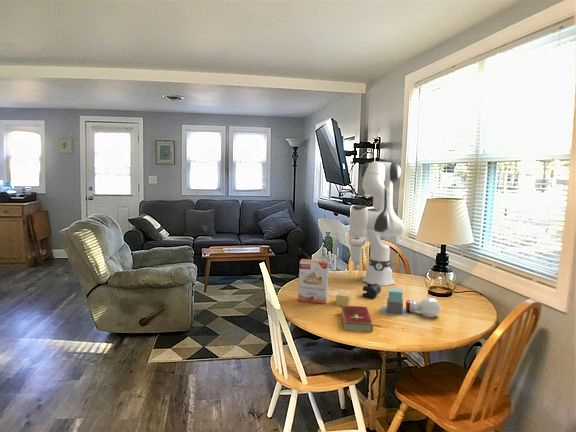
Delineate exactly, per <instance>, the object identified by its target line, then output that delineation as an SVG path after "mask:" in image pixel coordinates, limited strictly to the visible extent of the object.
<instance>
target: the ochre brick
mask: <svg viewBox="0 0 576 432" xmlns="http://www.w3.org/2000/svg"><path fill="white" fill-rule="evenodd" d="M350 303H351V292H345V291H338V292H337V293H336V295H335V305H336V306H341V305H344V306H350Z"/></svg>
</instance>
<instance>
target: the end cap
mask: <svg viewBox="0 0 576 432" xmlns="http://www.w3.org/2000/svg"><path fill="white" fill-rule="evenodd" d="M362 287H363V288H362V297H366V298H369V299H372V300H374V299H375V298H376V297H377V296H378V295H379V294H380V293H381V291H382V286H380V285H379V284H377V283H375V284H369V283H366V285H364V286H362ZM363 291H364V292H363Z"/></svg>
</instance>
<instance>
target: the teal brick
mask: <svg viewBox="0 0 576 432" xmlns="http://www.w3.org/2000/svg"><path fill="white" fill-rule="evenodd" d="M388 298H389V300H388V299H387V300H388V302H395V303H402V299H403V288H395V287H389V289H388Z"/></svg>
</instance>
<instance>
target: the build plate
mask: <svg viewBox="0 0 576 432" xmlns="http://www.w3.org/2000/svg"><path fill="white" fill-rule="evenodd" d="M380 310H381V311H380V314H381V315H382V314H383V315H387V316H390V315H391V316H397V317H405V318H408V317H409V312H407V311H406V307H403V311H402V314H396V313H387V305H381V309H380Z"/></svg>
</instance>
